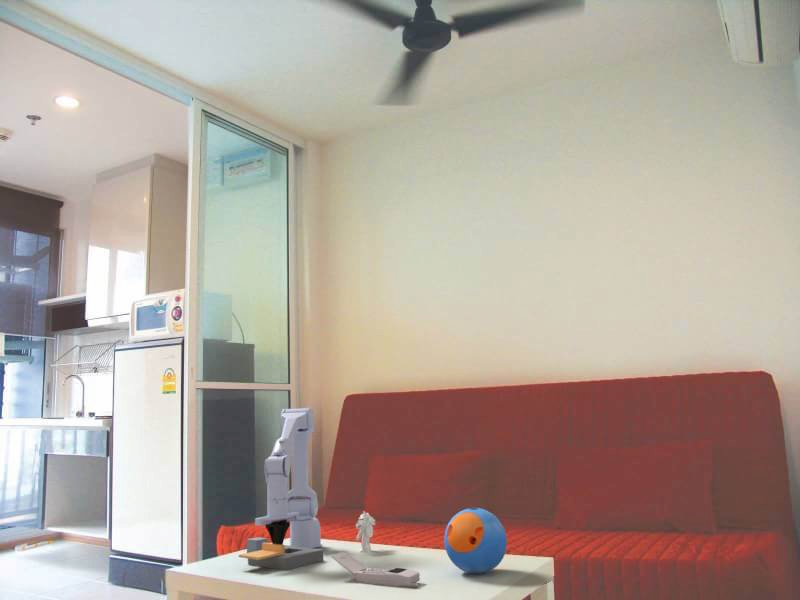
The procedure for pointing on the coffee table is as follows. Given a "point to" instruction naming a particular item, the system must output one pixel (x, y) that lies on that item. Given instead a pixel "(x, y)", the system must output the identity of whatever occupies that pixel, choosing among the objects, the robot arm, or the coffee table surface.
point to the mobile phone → (378, 573)
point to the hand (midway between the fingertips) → (277, 549)
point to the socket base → (291, 558)
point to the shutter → (265, 551)
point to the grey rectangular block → (255, 544)
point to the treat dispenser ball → (475, 541)
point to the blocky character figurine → (365, 531)
